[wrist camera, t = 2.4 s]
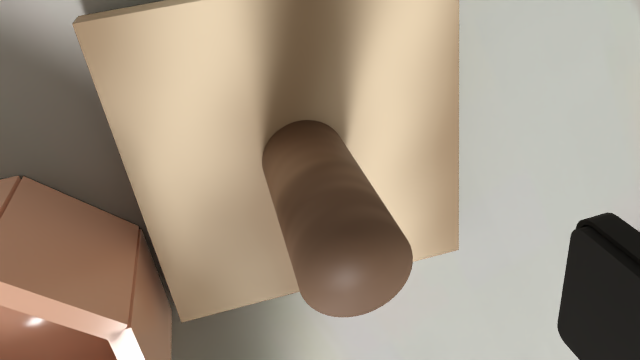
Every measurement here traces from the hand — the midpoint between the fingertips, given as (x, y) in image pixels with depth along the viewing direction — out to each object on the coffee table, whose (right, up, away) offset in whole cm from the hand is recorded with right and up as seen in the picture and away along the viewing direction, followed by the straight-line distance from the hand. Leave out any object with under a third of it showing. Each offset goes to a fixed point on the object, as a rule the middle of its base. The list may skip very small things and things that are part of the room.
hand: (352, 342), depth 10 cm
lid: (-1, +4, +8) cm, 9 cm away
